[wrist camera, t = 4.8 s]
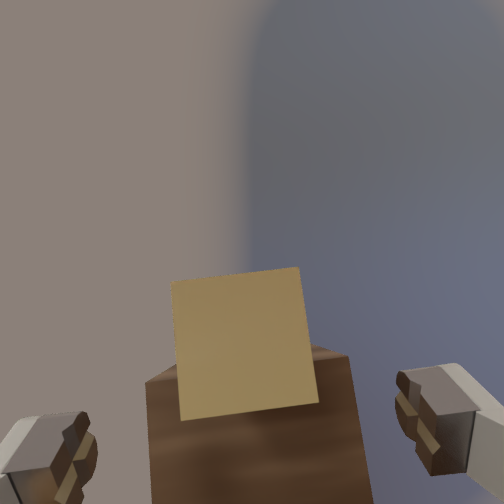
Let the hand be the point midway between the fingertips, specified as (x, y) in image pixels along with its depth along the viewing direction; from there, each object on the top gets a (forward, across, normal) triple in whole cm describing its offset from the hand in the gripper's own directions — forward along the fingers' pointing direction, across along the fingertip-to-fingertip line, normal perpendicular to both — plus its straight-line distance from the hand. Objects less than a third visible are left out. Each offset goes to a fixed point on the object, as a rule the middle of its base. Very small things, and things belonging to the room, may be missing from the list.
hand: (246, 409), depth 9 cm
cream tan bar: (+8, 0, +5) cm, 10 cm away
